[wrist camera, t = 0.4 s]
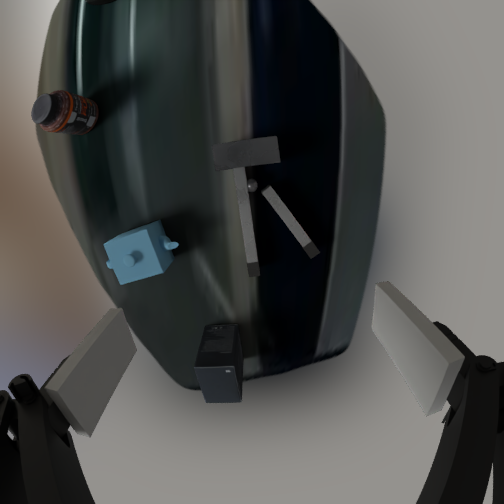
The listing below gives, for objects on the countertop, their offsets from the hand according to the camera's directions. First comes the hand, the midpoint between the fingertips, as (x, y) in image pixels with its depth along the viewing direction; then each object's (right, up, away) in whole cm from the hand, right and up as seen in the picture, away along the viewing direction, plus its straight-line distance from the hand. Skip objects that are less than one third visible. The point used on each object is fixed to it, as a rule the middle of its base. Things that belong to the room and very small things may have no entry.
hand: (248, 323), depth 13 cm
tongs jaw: (+5, +8, +25) cm, 27 cm away
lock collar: (-1, +16, +22) cm, 28 cm away
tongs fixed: (0, +8, +25) cm, 26 cm away
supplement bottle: (-26, +25, +20) cm, 41 cm away
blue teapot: (-14, +5, +26) cm, 30 cm away
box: (-4, -12, +32) cm, 34 cm away
